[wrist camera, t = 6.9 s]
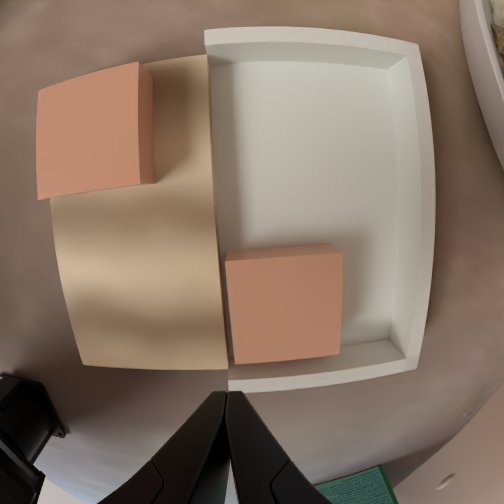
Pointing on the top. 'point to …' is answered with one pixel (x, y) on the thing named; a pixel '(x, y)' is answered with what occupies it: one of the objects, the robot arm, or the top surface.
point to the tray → (328, 183)
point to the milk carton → (360, 488)
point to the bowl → (486, 61)
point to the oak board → (151, 244)
